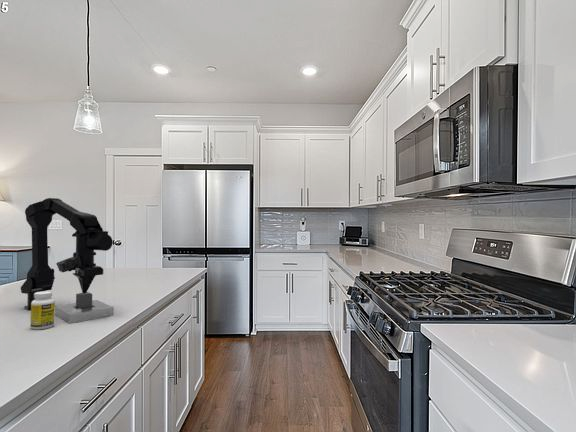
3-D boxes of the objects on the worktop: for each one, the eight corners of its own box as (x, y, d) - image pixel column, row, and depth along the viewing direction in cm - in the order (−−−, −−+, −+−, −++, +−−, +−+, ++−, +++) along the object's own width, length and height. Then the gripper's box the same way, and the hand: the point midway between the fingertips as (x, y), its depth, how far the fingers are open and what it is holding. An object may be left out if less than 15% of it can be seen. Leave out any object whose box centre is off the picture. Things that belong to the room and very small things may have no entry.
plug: (88, 311, 130) (88, 291, 130) (92, 313, 128) (92, 293, 128) (75, 313, 127) (76, 292, 127) (79, 315, 125) (80, 294, 125)
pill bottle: (42, 330, 109) (42, 295, 109) (25, 329, 111) (26, 293, 111) (58, 325, 115) (59, 291, 115) (42, 323, 117) (43, 290, 117)
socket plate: (54, 314, 128) (55, 303, 128) (96, 307, 138) (96, 297, 138) (69, 323, 117) (69, 312, 117) (113, 315, 127) (113, 304, 127)
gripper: (51, 249, 128) (50, 292, 128) (68, 252, 115) (67, 300, 115) (85, 247, 136) (84, 288, 136) (104, 250, 124) (103, 295, 123)
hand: (84, 292), depth 127 cm, fingers closed
